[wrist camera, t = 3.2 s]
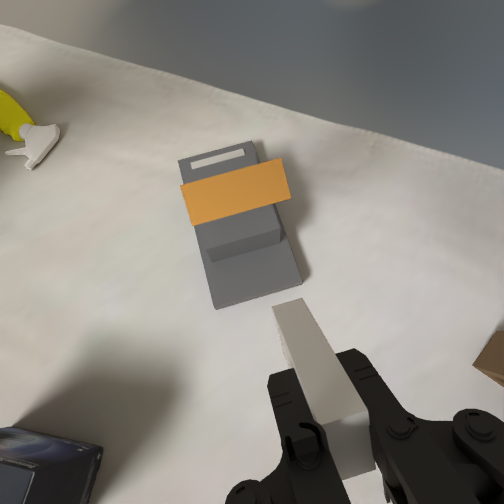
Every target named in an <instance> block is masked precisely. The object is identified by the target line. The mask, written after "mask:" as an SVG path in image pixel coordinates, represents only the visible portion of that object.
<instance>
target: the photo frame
mask: <svg viewBox="0 0 504 504" xmlns="http://www.w3.org/2000/svg"><path fill="white" fill-rule="evenodd" d="M472 366H474V367H475V368H477V369H478V370H480V371H481V372H482V373H484V374H485V375H487V376H488V377H490V378H491V379H493V380H494V381H496V382H497V383H498V384H500V385H501V386H503V387H504V331H496V333H495V334H494V336H493V337H492V338H491V340H490V341H489V343H488V344H487V345H486V347H485V348H484V350H483V351H482V353H481V354H480V355H479V357H478V358H477V360H476V361H475V362H474V364H473V365H472Z"/></svg>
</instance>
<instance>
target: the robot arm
mask: <svg viewBox="0 0 504 504" xmlns="http://www.w3.org/2000/svg"><path fill="white" fill-rule="evenodd" d="M272 309H273V313H274V317H275V321H276V325H277V329H278V333H279V337H280V341H281V345H282V349H283V352H284V355H285V358H286V360H287V363H288V366H289V368H290V369H287V370H284V371H281V372H278V373H274V374H271V375H270V376H269V380H268V385H267V388H268V391H269V395H270V399H271V403H272V407H273V411H274V415H275V418H276V422H277V426H278V430H279V434H280V438H281V446H282V450H283V453H282V458H281V461H280V463H279V465H278V466H277V468H276V469H275V470H274V471H273V472H272V473H271V474H270V475H268V476H267V477H266V478H264V479H263V480H262V481H260V482H259V481H257V480H251V479H249V480H245V481H241V482H240V483H238V484H237V485H236V486H234V487H233V488H232V490H231V491H230V493H229V494H228V495H227V498H226V502H225V504H351V502H350V500H349V497H348V495H347V492H346V490H345V488H344V485H343V483H342V480H345V479H348V478H351V477H354V476H357V475H360V474H363V473H366V472H369V471H372V470H375V469H376V466H375V461H376V463H377V465H378V467H379V469H380V471H381V473H382V478H383V486H384V494H385V498H386V501H387V503H389V502H390V499H391V501H392V503H393V504H504V422H503V421H501V420H500V419H498V418H497V417H495V416H493V415H492V414H490V413H488V412H486V411H482V410H478V409H464V410H461V411H459V412H458V413H457V414H456V415H455V416H454V417H453V421H430V420H424V419H420V418H417V417H415V416H414V415H413V414H411V413H409V412H407V411H406V410H405V409H404V408H403V407H402V406H401V405H400V403H399V402H398V400H397V399H396V398H395V396H394V395H393V393H392V392H391V391H390V389H389V388H388V386H387V385H386V383H385V382H384V381H383V379H382V378H381V376H380V375H379V374H378V372H377V371H376V369H375V368H374V367H373V365H372V364H371V362H370V361H369V360H368V358H367V357H366V355H364V354H363V353H361V352H360V351H358V350H356V349H355V348H354V349H350V350H347V351H344V352H341V353H337V354H335V353H334V351H333V350H332V348H331V346H330V344H329V343H328V341H327V339H326V338H325V336H324V334H323V333H322V331H321V329H320V327H319V326H318V324H317V322H316V321H315V319H314V317H313V315H312V314H311V312H310V310H309V309H308V307H307V305H306V303H305V302H304V300H303V298H300V299H296V300H293V301H290V302H286V303H283V304H279V305H276V306H273V307H272Z"/></svg>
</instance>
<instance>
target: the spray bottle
mask: <svg viewBox="0 0 504 504" xmlns="http://www.w3.org/2000/svg"><path fill="white" fill-rule="evenodd" d="M0 131H3V132H4V133H5V134H7V135H11V136H12V138H13V139H14V140H15V141H24V140H25V144H26V147H24V148H19V149H14V150H9V151H5V154H6V155H26V156H27V157H28V158H29V159H28V161H27V162H26V164H25V165H24V166H25V167H26V168H27V169H29V170H32V169H33V168H34V166H35V165H36V164H39V163H40V162H41V160H42V159H43V158H44V157H45V155H46V154H47V153H48V152H49V150H50V149H51V148H52V147H53V146H54V144H55V143H56V142H57V141H58V139H59V135H60V129H59V128H58V127H57V125H56V124H52V125H49V126H37V125H35V123H34V122H33V121H32V119H31V118H30V117H29V115H28V114H27V113H26V111H25V110H24V109H23V108H22V107H21V106H20V105H19V104H18V103H17V102H16V101H15V100H14V99H13V98H12V97H11V96H9V95H8V94H7V93H5V92H4V91H2V90H1V89H0Z"/></svg>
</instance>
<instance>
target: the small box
mask: <svg viewBox="0 0 504 504" xmlns="http://www.w3.org/2000/svg"><path fill="white" fill-rule="evenodd" d="M102 453H103V447H100V446H96V445H91V444H87V443H82V442H78V441H73V440H69V439H65V438H60V437H56V436H52V435H47V434H43V433H38V432H34V431H29V430H25V429H20V428H16V427H5V428H0V504H88V503H89V497H90V494H91V491H92V487H93V484H94V481H95V477H96V474H97V471H98V469H99V466H100V462H101V457H102Z"/></svg>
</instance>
